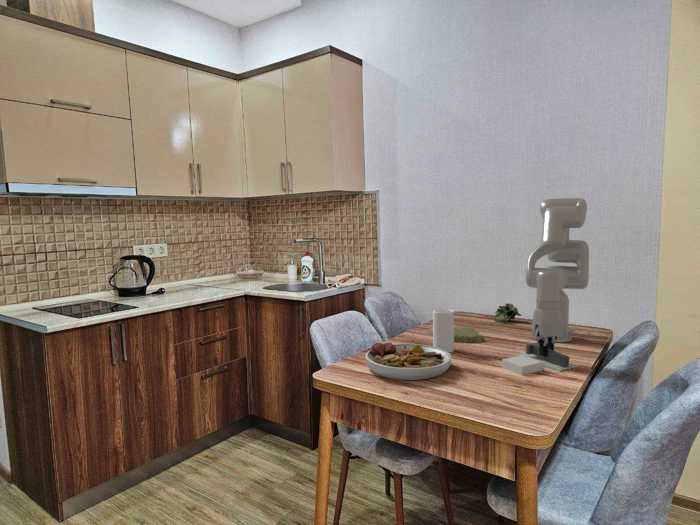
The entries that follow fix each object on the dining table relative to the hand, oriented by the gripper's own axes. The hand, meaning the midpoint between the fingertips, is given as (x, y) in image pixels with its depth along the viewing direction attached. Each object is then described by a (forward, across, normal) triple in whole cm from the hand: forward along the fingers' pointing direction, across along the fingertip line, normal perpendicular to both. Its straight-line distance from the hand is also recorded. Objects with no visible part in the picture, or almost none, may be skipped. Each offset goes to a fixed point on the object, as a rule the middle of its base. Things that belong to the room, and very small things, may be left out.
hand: (546, 354), depth 166 cm
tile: (+1, +8, +1) cm, 9 cm away
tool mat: (+3, 0, -1) cm, 3 cm away
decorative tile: (+3, +6, -45) cm, 45 cm away
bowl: (+4, +47, -19) cm, 51 cm away
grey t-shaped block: (+1, 0, +1) cm, 2 cm away
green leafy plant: (+2, -36, -56) cm, 66 cm away
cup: (+3, +23, -31) cm, 38 cm away
